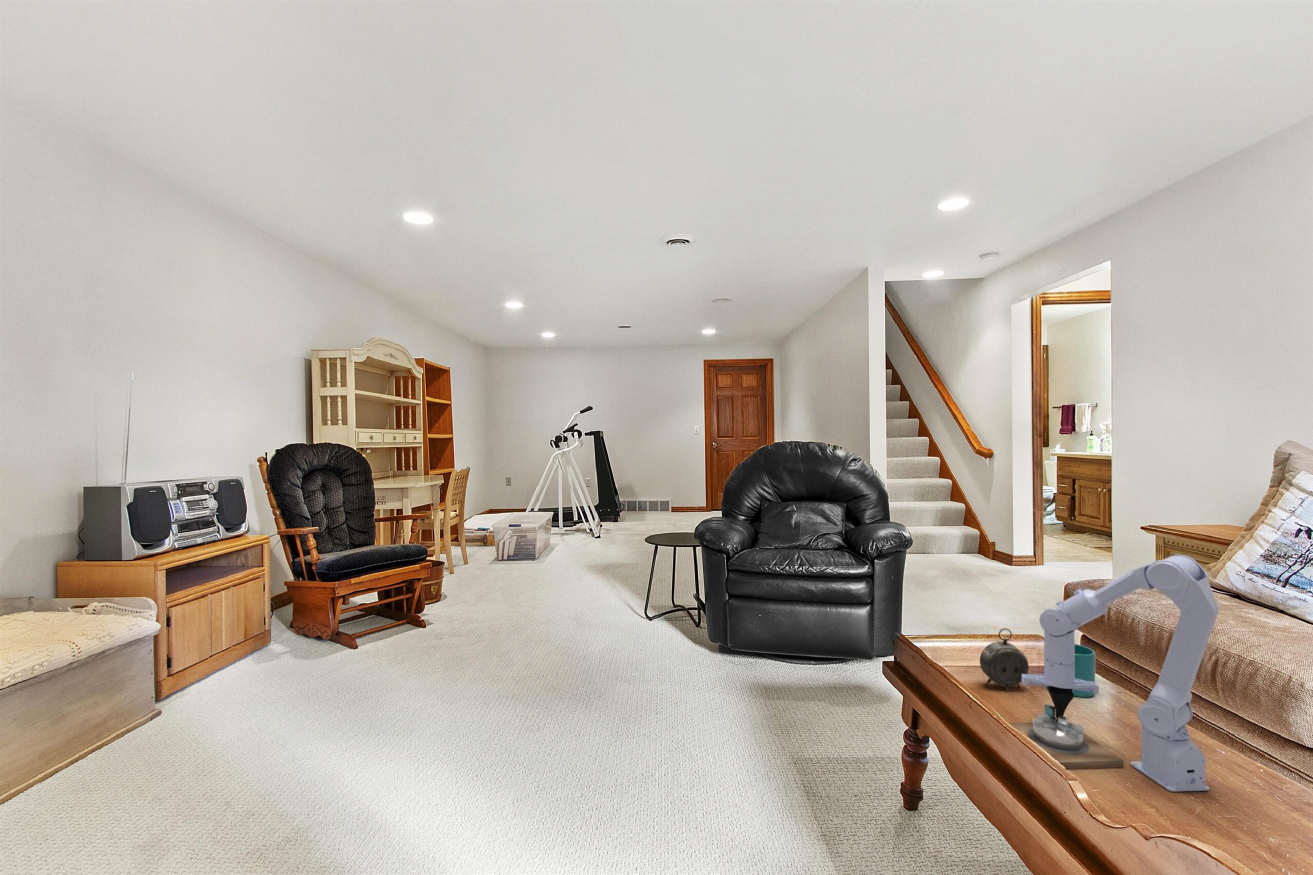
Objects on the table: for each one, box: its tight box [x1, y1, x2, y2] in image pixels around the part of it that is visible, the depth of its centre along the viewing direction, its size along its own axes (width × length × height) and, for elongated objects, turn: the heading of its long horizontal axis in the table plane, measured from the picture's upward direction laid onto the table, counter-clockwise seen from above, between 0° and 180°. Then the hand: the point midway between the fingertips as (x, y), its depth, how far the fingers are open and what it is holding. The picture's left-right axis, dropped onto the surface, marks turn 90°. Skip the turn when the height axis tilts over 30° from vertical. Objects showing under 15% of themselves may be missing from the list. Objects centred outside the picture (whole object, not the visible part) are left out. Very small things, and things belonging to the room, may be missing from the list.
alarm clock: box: [979, 627, 1030, 693], centre depth 157 cm, size 11×5×16 cm, turn 84°
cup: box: [1072, 643, 1096, 698], centre depth 156 cm, size 9×12×11 cm
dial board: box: [1009, 722, 1124, 770], centre depth 128 cm, size 16×16×2 cm
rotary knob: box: [1032, 704, 1084, 750], centre depth 130 cm, size 12×9×4 cm
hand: (1059, 719), depth 134 cm, fingers closed
